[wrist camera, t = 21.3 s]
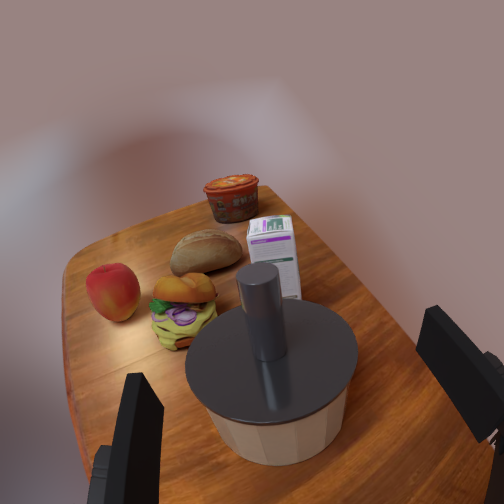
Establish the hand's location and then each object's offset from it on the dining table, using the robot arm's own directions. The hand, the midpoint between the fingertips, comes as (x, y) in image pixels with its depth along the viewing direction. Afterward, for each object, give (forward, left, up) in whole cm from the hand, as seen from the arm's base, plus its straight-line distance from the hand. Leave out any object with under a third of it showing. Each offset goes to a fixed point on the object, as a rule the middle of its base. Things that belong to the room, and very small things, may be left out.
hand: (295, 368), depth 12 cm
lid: (+5, -8, -8) cm, 12 cm away
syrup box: (+10, -24, -18) cm, 31 cm away
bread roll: (+29, -35, -18) cm, 49 cm away
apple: (+37, -17, -18) cm, 44 cm away
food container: (+37, -65, -18) cm, 77 cm away
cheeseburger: (+23, -18, -18) cm, 34 cm away
